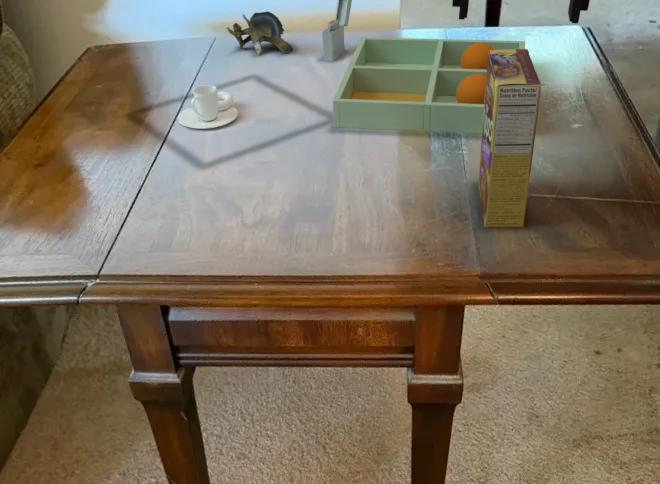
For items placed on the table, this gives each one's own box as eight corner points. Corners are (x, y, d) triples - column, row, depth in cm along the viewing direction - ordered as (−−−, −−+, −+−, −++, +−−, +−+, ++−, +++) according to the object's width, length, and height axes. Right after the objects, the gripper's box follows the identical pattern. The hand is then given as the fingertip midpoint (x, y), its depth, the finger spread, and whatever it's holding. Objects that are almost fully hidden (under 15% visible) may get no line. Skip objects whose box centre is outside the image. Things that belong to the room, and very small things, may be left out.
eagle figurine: (228, 54, 117) (284, 44, 115) (224, 7, 117) (279, -4, 114) (246, 66, 125) (299, 56, 122) (242, 21, 124) (295, 11, 122)
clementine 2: (494, 106, 100) (498, 68, 96) (494, 122, 96) (498, 83, 93) (455, 104, 100) (458, 67, 97) (453, 120, 97) (456, 82, 94)
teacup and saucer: (223, 100, 106) (220, 71, 104) (254, 118, 101) (251, 88, 99) (167, 118, 102) (162, 88, 100) (197, 137, 97) (192, 107, 95)
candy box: (474, 186, 85) (487, 48, 75) (513, 186, 84) (532, 47, 75) (480, 229, 78) (496, 83, 68) (523, 229, 77) (545, 82, 68)
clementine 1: (496, 73, 108) (500, 38, 105) (495, 87, 104) (499, 50, 101) (460, 72, 109) (463, 37, 106) (458, 86, 105) (461, 49, 102)
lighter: (333, 62, 116) (331, 7, 111) (323, 60, 117) (321, 6, 112) (352, 46, 121) (352, -6, 116) (342, 45, 122) (341, -7, 117)
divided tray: (521, 69, 111) (524, 40, 108) (522, 140, 93) (527, 108, 90) (361, 64, 115) (361, 37, 112) (333, 131, 97) (332, 100, 94)
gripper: (661, -221, 59) (613, 7, 70) (437, -217, 62) (424, 1, 73) (677, -213, 54) (622, 34, 64) (429, -209, 57) (417, 27, 67)
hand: (517, 16), depth 69 cm, fingers open, 9 cm apart
